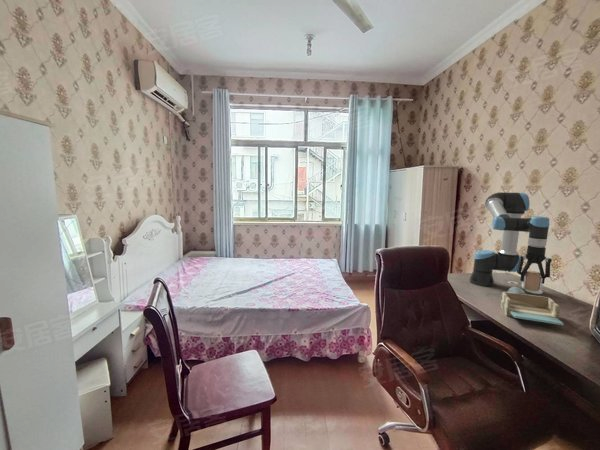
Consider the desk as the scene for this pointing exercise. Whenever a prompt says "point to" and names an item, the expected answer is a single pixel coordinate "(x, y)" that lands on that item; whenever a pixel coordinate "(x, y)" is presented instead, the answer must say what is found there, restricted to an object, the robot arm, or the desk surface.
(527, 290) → the figurine
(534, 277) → the brown egg
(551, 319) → the cabinet door
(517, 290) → the spool
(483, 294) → the desk surface
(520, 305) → the crate
